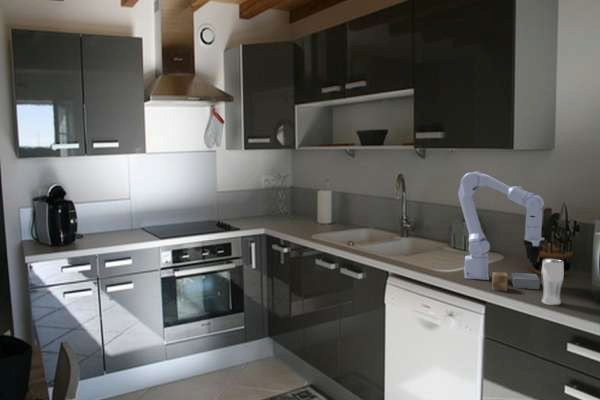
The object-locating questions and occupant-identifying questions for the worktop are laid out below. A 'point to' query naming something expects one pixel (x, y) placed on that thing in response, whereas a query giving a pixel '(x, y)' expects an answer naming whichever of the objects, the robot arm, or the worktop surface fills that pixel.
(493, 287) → the walnut block
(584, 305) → the worktop surface
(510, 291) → the worktop surface
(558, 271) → the beer glass
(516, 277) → the slate block
